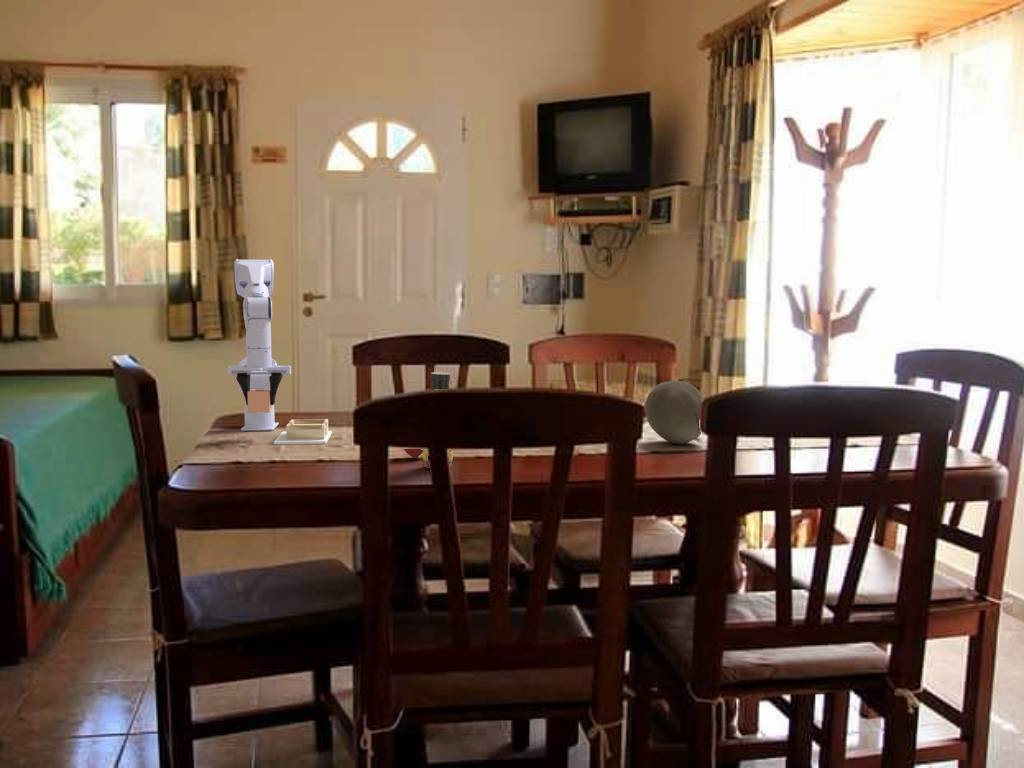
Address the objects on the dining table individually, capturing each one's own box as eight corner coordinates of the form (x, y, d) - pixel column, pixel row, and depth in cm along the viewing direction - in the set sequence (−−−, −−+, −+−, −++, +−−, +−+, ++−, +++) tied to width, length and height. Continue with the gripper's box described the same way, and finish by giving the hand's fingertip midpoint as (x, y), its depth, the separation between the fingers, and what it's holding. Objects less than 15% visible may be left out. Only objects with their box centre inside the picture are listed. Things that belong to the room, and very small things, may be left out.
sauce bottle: (423, 471, 196) (423, 374, 193) (421, 465, 202) (421, 371, 199) (455, 470, 197) (455, 374, 194) (452, 464, 203) (452, 370, 200)
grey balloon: (699, 438, 234) (701, 377, 232) (710, 449, 220) (712, 384, 218) (641, 438, 234) (642, 377, 232) (648, 449, 220) (649, 384, 218)
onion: (426, 461, 206) (426, 424, 205) (399, 460, 206) (399, 424, 205) (429, 455, 211) (429, 420, 210) (403, 455, 212) (403, 419, 211)
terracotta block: (251, 409, 231) (251, 388, 231) (273, 409, 232) (272, 387, 231) (248, 412, 227) (247, 390, 226) (269, 412, 227) (269, 390, 226)
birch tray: (291, 433, 235) (291, 419, 235) (328, 432, 236) (328, 419, 235) (286, 439, 226) (286, 425, 226) (324, 439, 227) (324, 425, 227)
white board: (282, 433, 237) (282, 431, 237) (331, 433, 238) (331, 430, 238) (273, 444, 224) (273, 441, 223) (325, 443, 225) (325, 441, 224)
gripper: (224, 349, 223) (226, 407, 224) (287, 349, 224) (288, 406, 226) (230, 346, 230) (232, 402, 231) (291, 346, 231) (293, 402, 233)
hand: (260, 404), depth 229 cm, fingers closed on terracotta block, 5 cm apart
